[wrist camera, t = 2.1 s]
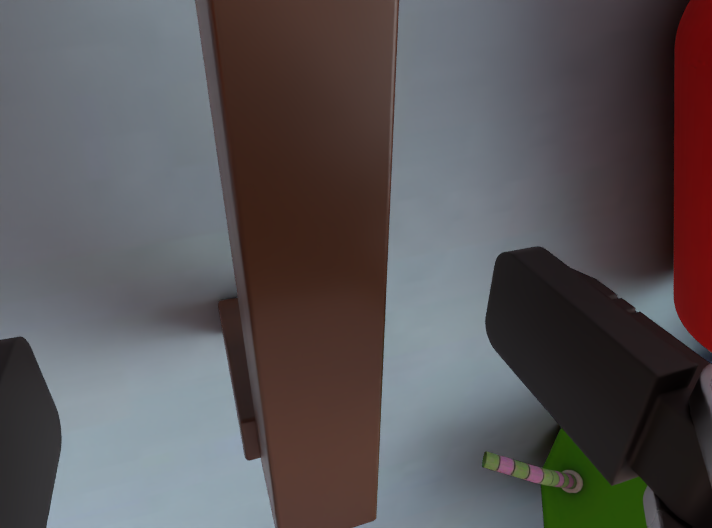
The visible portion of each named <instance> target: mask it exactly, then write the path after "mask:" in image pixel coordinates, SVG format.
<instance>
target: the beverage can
mask: <svg viewBox="0 0 712 528" xmlns="http://www.w3.org/2000/svg"><path fill="white" fill-rule="evenodd" d="M674 304H675V308H676V311H677V314H678V316H679V318H680V320H681V322H682V324H683V325H684V327H685V328H686V329H687V331H688V332H689V333H690V334H691V335H692V336H693V337H694V338H695V339H696V340H697V341H698V342H699V343H700V344H701V345H702V346H704V347H705V348H706V349H707V350H709V351H710V352H711V353H712V0H690V1H689V3H688V5H687V7H686V8H685V10H684V13H683V15H682V17H681V20H680V23H679V26H678V29H677V33H676V39H675V47H674Z"/></svg>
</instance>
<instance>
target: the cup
mask: <svg viewBox="0 0 712 528" xmlns="http://www.w3.org/2000/svg"><path fill="white" fill-rule="evenodd" d="M482 467H483V468H487V469H490V470H494V471H497V472H500V473H504V474H507V475H510V476H514V477H517V478H520V479H524V480H527V481H530V482H534V483H538V484H541V494H542V507H543V520H544V528H647V525H646V518H645V512H644V506H643V495H644V492H645V490H646V488H647V484H646V483H645V482H644V481H643V480H642V479H641V478H640V477H636V478H633V479H630V480H628V481H625V482H622V483H619V484H616V485H613V486H611V485H610V484H609V482H608V481H607V480H606V479H605V478H604V477H603V475H602V474H601V473H600V472H599V471H598V470H597V468H596V467H595V466H594V465H593V464H592V463H591V461H590V460H589V459H588V458H587V457H586V456H585V454H584V453H583V452H582V451H581V450H580V449H579V447H578V446H577V445H576V444H575V443H574V442H573V440H572V439H571V438H570V437H569V436H568V435H567V433H566V432H565V431H564V430H563V429H562V428H561V429H560V431H559V433H558V435H557V437H556V439H555V442H554V444H553V446H552V448H551V450H550V453H549V455H548V457H547V459H546V461H545V463H544V466H543V468H541V467H537V466H534V465H530V464H527V463H524V462H520V461H517V460H514V459H510V458H507V457H504V456H500V455H497V454H493V453H490V452H487V451H486V452H485V453H484V456H483V460H482Z"/></svg>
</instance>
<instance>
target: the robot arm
mask: <svg viewBox="0 0 712 528" xmlns="http://www.w3.org/2000/svg"><path fill="white" fill-rule="evenodd" d="M485 324H486V331H487V335H488V338H489V341H490V343H491V345H492V346H493V348H494V349H495V351H496V352H497V353H498V354H499V355H500V357H501V358H502V359H503V360H504V361H505V362H506V364H507V365H508V366H509V367H510V368H511V369H512V371H513V372H514V373H515V374H516V375H517V376H518V377H519V379H520V380H521V381H522V382H523V383H524V384H525V386H526V387H527V388H528V389H529V390H530V391H531V393H532V394H533V395H534V396H535V397H536V398H537V400H538V401H539V402H540V403H541V404H542V405H543V407H544V408H545V409H546V410H547V411H548V412H549V414H550V415H551V416H552V417H553V418H554V419H555V421H556V422H557V423H558V424H559V425H560V426H561V428H562V429H563V430H564V431H565V432H566V433H567V435H568V436H569V437H570V438H571V439H572V440H573V442H574V443H575V444H576V445H577V446H578V447H579V449H580V450H581V451H582V452H583V453H584V454H585V456H586V457H587V458H588V459H589V460H590V461H591V463H592V464H593V465H594V466H595V467H596V468H597V470H598V471H599V472H600V473H601V474H602V475H603V477H604V478H605V479H606V480H607V481H608V482H609V484H610V485H611V486H613V485H616V484H619V483H622V482H625V481H628V480H630V479H633V478H636V477H640V478H641V479H642V480H643V481H644V482H645V483H646V484H647V488H646V490H645V492H644V495H643V506H644V512H645V518H646V525H647V528H712V363H711V364H710V363H709V362H708V361H706V360H705V359H704V358H702V357H701V356H700V355H698V354H697V353H695V352H694V351H693V350H691V349H690V348H689V347H687V346H686V345H685V344H683V343H682V342H681V341H679V340H678V339H676V338H675V337H674V336H672V335H671V334H670V333H668V332H667V331H666V330H664V329H663V328H662V327H660V326H659V325H658V324H656V323H655V322H653V321H652V320H651V319H649V318H648V317H647V316H645V315H644V314H643V313H641V312H636V311H635V308H634V307H633V306H632V305H630V304H629V303H628V302H626V301H625V300H624V299H622V298H619V299H618V297H617V294H615V293H614V292H613V291H611V290H610V289H609V288H607V287H606V286H605V285H603V284H602V283H601V282H599V281H598V280H597V279H595V278H593V277H590V276H588V275H586V274H583V273H581V272H579V271H577V270H574V269H572V268H570V267H569V266H567V265H566V264H565V263H563V262H562V261H561V260H559V259H558V258H557V257H555V256H554V255H553V254H551V253H550V252H549V251H547V250H546V249H544V248H543V247H538V246H537V247H531V248H525V249H520V250H514V251H508V252H503V253H501V254H500V255H499V256H498V257H497V259H496V262H495V266H494V271H493V277H492V283H491V289H490V295H489V301H488V306H487V312H486V319H485ZM60 451H61V425H60V419H59V415H58V411H57V409H56V406H55V404H54V401H53V399H52V396H51V394H50V392H49V389H48V387H47V384H46V382H45V380H44V377H43V375H42V373H41V370H40V368H39V365H38V363H37V361H36V358H35V356H34V353H33V351H32V349H31V347H30V345H29V343H28V342H27V340H26V339H25V338H23V337H15V338H9V339H3V340H0V528H46V525H47V520H48V515H49V509H50V504H51V499H52V493H53V488H54V483H55V478H56V472H57V467H58V462H59V457H60Z"/></svg>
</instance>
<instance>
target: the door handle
mask: <svg viewBox="0 0 712 528" xmlns="http://www.w3.org/2000/svg"><path fill="white" fill-rule="evenodd" d="M195 3H196V10H197V17H198V24H199V31H200V38H201V45H202V52H203V59H204V66H205V73H206V80H207V87H208V94H209V101H210V108H211V115H212V122H213V129H214V136H215V143H216V150H217V157H218V164H219V170H220V177H221V184H222V191H223V198H224V205H225V212H226V219H227V226H228V233H229V240H230V247H231V254H232V261H233V268H234V275H235V282H236V289H237V296H238V298H232V299H227V300H221V301H219V302H218V308H219V314H220V320H221V326H222V332H223V337H224V343H225V349H226V354H227V360H228V365H229V371H230V376H231V382H232V388H233V393H234V399H235V404H236V410H237V416H238V421H239V427H240V432H241V438H242V444H243V449H244V455H245V458H246V459H247V460H253V459H257V458H261V462H262V467H263V472H264V476H265V481H266V486H267V491H268V495H269V500H270V505H271V510H272V515H273V519H274V524H275V528H353V527H356V526H359V525H362V524H365V523H368V522H371V521H374V520H375V519H376V513H377V490H378V467H379V444H380V421H381V398H382V376H383V353H384V330H385V307H386V284H387V261H388V239H389V216H390V193H391V170H392V147H393V124H394V102H395V79H396V56H397V33H398V10H399V0H195Z"/></svg>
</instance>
